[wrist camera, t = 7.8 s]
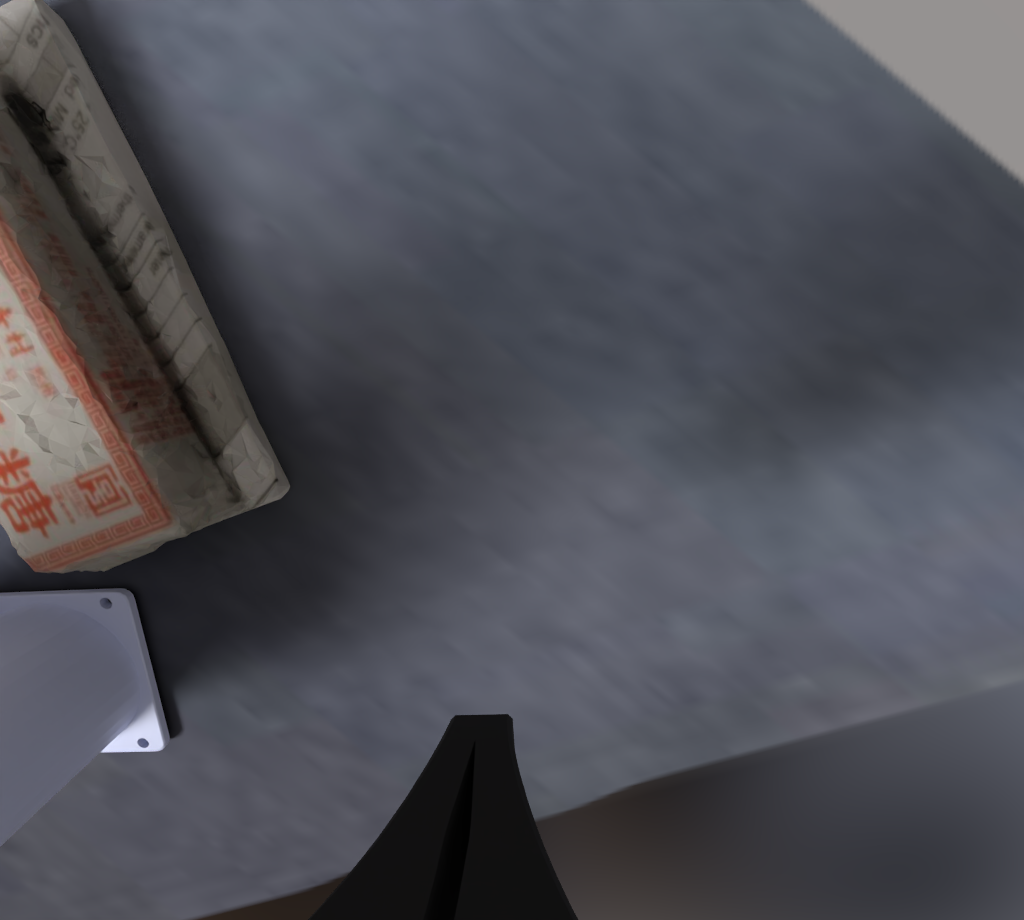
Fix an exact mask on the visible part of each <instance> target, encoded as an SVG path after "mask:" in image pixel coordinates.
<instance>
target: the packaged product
mask: <svg viewBox="0 0 1024 920" xmlns="http://www.w3.org/2000/svg"><path fill="white" fill-rule="evenodd" d="M289 488H290V484H289V482H288V479H287V477H286V475H285V473H284V471H283V469H282V467H281V465H280V463H279V461H278V459H277V457H276V455H275V453H274V451H273V449H272V447H271V445H270V443H269V441H268V439H267V437H266V435H265V433H264V431H263V429H262V427H261V425H260V424H259V422H258V419H257V417H256V415H255V412H254V410H253V408H252V405H251V403H250V401H249V398H248V396H247V394H246V391H245V389H244V387H243V384H242V382H241V380H240V377H239V375H238V373H237V370H236V368H235V366H234V363H233V361H232V359H231V356H230V354H229V352H228V350H227V347H226V345H225V343H224V341H223V339H222V337H221V335H220V333H219V331H218V329H217V327H216V325H215V322H214V320H213V318H212V316H211V314H210V312H209V310H208V307H207V305H206V303H205V301H204V299H203V297H202V295H201V292H200V290H199V288H198V286H197V284H196V282H195V279H194V277H193V275H192V273H191V271H190V268H189V266H188V264H187V262H186V259H185V257H184V255H183V253H182V251H181V249H180V247H179V245H178V243H177V241H176V238H175V236H174V234H173V232H172V230H171V228H170V226H169V224H168V222H167V220H166V218H165V216H164V213H163V211H162V209H161V207H160V205H159V203H158V202H157V199H156V197H155V195H154V193H153V191H152V189H151V187H150V185H149V182H148V180H147V178H146V176H145V175H144V173H143V171H142V169H141V167H140V165H139V163H138V161H137V159H136V157H135V155H134V153H133V151H132V149H131V147H130V145H129V143H128V141H127V140H126V138H125V136H124V134H123V132H122V130H121V128H120V126H119V124H118V122H117V120H116V118H115V116H114V114H113V112H112V110H111V108H110V106H109V104H108V103H107V101H106V99H105V97H104V95H103V93H102V91H101V89H100V87H99V85H98V83H97V81H96V79H95V77H94V75H93V73H92V71H91V69H90V68H89V66H88V64H87V62H86V60H85V58H84V56H83V54H82V52H81V50H80V48H79V46H78V44H77V42H76V40H75V39H74V37H73V35H72V34H71V32H70V30H69V29H68V27H67V25H66V24H65V22H64V20H63V19H62V18H61V17H60V16H59V15H58V14H57V13H55V12H54V11H53V10H52V9H51V8H50V7H49V6H48V5H47V4H46V3H45V2H44V1H42V0H12V1H10V2H8V3H7V4H5V5H3V6H1V7H0V524H1V525H2V526H3V528H4V529H5V530H6V532H7V534H8V536H9V537H10V540H11V544H12V546H13V547H14V548H15V549H16V550H17V554H18V555H19V556H20V557H21V558H22V559H24V560H25V561H26V562H27V564H28V565H29V566H30V567H31V568H32V569H33V570H34V572H42V573H51V572H57V573H62V574H63V573H67V572H71V571H75V570H79V571H80V572H82V571H85V570H87V571H94V572H97V571H99V570H100V571H107V570H109V569H111V568H113V567H116V566H118V565H120V564H123V563H125V562H128V561H131V560H133V559H136V558H138V557H141V556H143V555H146V554H148V553H151V552H153V551H155V550H156V549H157V548H159V547H160V546H161V545H163V544H164V543H165V542H167V541H170V540H175V539H177V538H182V537H186V536H187V535H189V534H190V533H192V532H195V531H198V530H201V529H202V528H204V527H207V526H209V525H212V524H214V523H217V522H220V521H222V520H225V519H228V518H230V517H233V516H236V515H238V514H241V513H244V512H247V511H249V510H252V509H255V508H257V507H260V506H263V505H265V504H268V503H271V502H273V501H276V500H279V499H281V498H282V497H283V496H284V495H285V494H286V493H287V492H288V491H289Z"/></svg>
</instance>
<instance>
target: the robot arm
mask: <svg viewBox="0 0 1024 920" xmlns="http://www.w3.org/2000/svg"><path fill="white" fill-rule="evenodd" d="M107 598H108V599H109V600H110V601H111V603H110V602H109V601H108V599H107ZM169 741H170V736H169V732H168V728H167V724H166V720H165V716H164V712H163V708H162V704H161V700H160V696H159V692H158V688H157V685H156V681H155V677H154V673H153V669H152V665H151V661H150V657H149V653H148V649H147V645H146V641H145V637H144V633H143V629H142V625H141V621H140V617H139V613H138V609H137V605H136V601H135V598H134V596H133V594H132V593H131V592H130V591H129V590H127V589H123V588H113V589H86V590H60V591H33V592H7V593H0V846H2V845H3V844H4V843H5V842H6V841H7V840H8V839H9V838H10V837H11V836H12V835H13V834H14V833H15V832H16V831H17V830H18V829H20V828H21V827H22V826H23V825H24V824H25V823H26V822H27V821H28V820H29V819H30V818H31V817H32V816H33V815H34V814H35V813H36V812H38V811H39V810H40V809H41V808H42V807H43V806H44V805H45V804H46V803H47V802H48V801H49V800H50V799H51V798H52V797H53V796H55V795H56V794H57V793H58V792H59V791H60V790H61V789H62V788H63V787H64V786H65V785H66V784H67V783H68V782H69V781H70V780H71V779H73V778H74V777H75V776H76V775H77V774H78V773H79V772H80V771H81V770H82V769H83V768H84V767H85V766H86V765H87V764H88V763H89V762H91V761H92V760H93V759H94V758H95V757H96V756H97V755H98V754H99V753H100V752H144V751H160V750H162V749H163V748H164V747H165V746H166V745H167V744H168V743H169ZM308 920H578V918H577V917H576V915H575V913H574V911H573V909H572V907H571V905H570V903H569V901H568V899H567V897H566V895H565V893H564V890H563V888H562V886H561V884H560V882H559V880H558V878H557V876H556V873H555V871H554V869H553V866H552V864H551V861H550V859H549V857H548V854H547V852H546V850H545V847H544V845H543V842H542V839H541V837H540V834H539V832H538V829H537V826H536V824H535V821H534V818H533V815H532V812H531V809H530V806H529V803H528V800H527V797H526V793H525V790H524V786H523V783H522V779H521V776H520V772H519V768H518V764H517V759H516V754H515V747H514V732H513V719H512V718H511V717H510V716H509V715H508V714H497V715H455V716H454V717H453V718H452V719H451V721H450V723H449V725H448V727H447V729H446V731H445V733H444V735H443V737H442V739H441V741H440V742H439V744H438V746H437V748H436V750H435V751H434V753H433V755H432V757H431V758H430V760H429V762H428V764H427V765H426V767H425V768H424V770H423V772H422V773H421V775H420V776H419V778H418V780H417V781H416V783H415V784H414V786H413V788H412V789H411V791H410V792H409V794H408V795H407V797H406V798H405V800H404V801H403V803H402V804H401V806H400V807H399V809H398V810H397V811H396V813H395V814H394V816H393V817H392V819H391V820H390V821H389V823H388V824H387V826H386V827H385V829H384V830H383V831H382V833H381V834H380V835H379V837H378V838H377V839H376V841H375V842H374V843H373V845H372V846H371V847H370V848H369V850H368V851H367V852H366V854H365V855H364V856H363V857H362V859H361V860H360V861H359V862H358V863H357V865H356V866H355V867H354V868H353V870H352V871H351V872H350V873H349V874H348V876H347V877H346V878H345V879H344V880H343V881H342V883H341V884H340V885H339V886H338V887H337V888H336V889H335V890H334V892H333V893H332V894H331V895H330V896H329V897H328V898H327V899H326V901H325V902H324V903H323V904H322V905H321V906H320V907H319V908H318V910H317V911H316V912H315V913H314V914H313V915H312V916H311V917H310V918H309V919H308Z"/></svg>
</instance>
